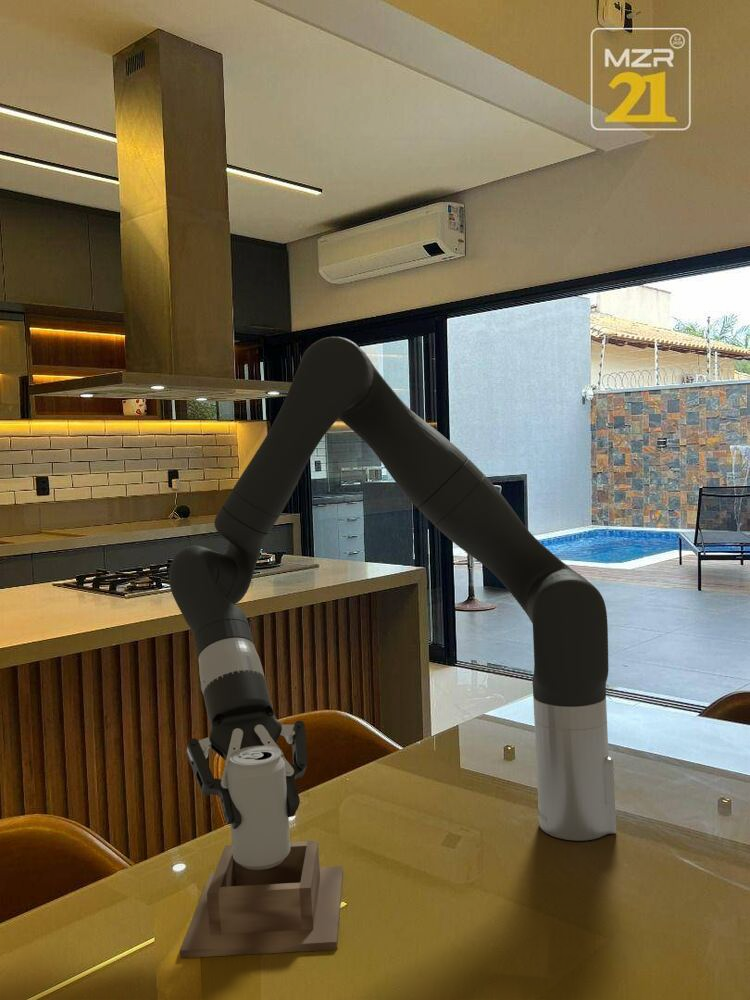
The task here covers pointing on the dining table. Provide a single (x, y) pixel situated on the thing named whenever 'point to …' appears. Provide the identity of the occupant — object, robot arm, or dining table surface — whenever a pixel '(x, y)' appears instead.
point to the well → (267, 907)
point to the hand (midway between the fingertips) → (265, 819)
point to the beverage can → (259, 807)
